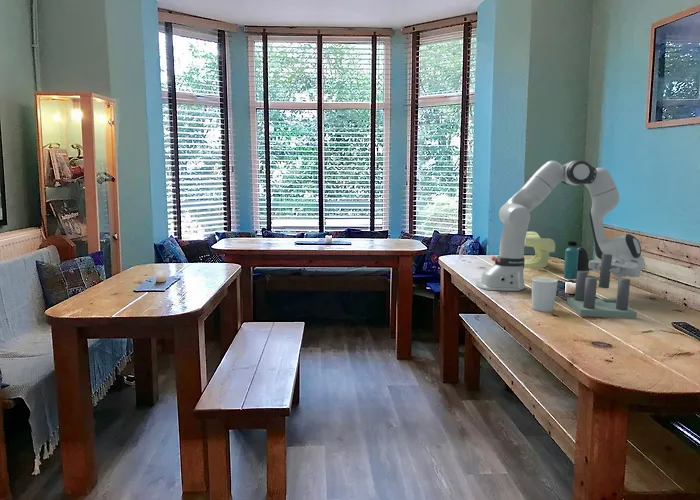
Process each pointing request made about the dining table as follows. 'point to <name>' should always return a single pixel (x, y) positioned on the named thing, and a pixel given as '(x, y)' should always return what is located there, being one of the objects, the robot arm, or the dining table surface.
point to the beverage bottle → (571, 261)
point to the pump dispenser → (583, 260)
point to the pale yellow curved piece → (538, 250)
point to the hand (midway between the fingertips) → (604, 269)
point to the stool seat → (595, 307)
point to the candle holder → (543, 293)
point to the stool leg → (605, 271)
